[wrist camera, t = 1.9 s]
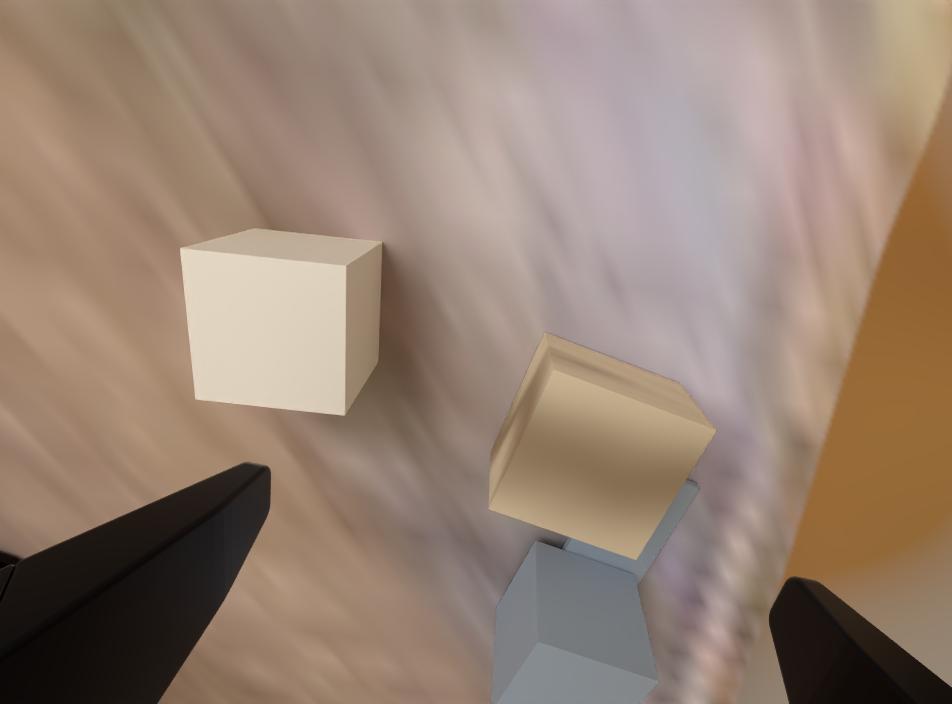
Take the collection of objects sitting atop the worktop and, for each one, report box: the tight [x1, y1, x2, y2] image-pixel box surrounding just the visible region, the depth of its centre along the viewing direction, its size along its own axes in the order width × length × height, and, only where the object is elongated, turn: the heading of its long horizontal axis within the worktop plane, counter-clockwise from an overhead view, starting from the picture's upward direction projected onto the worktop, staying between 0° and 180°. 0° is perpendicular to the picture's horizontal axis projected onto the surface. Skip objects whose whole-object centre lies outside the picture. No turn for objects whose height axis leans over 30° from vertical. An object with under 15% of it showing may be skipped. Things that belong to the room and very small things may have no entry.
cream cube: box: [180, 228, 382, 416], centre depth 19 cm, size 5×5×5 cm
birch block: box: [489, 333, 717, 560], centre depth 20 cm, size 6×6×4 cm
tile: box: [562, 479, 700, 586], centre depth 24 cm, size 6×4×1 cm, turn 159°
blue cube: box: [491, 541, 659, 704], centre depth 23 cm, size 5×5×5 cm
